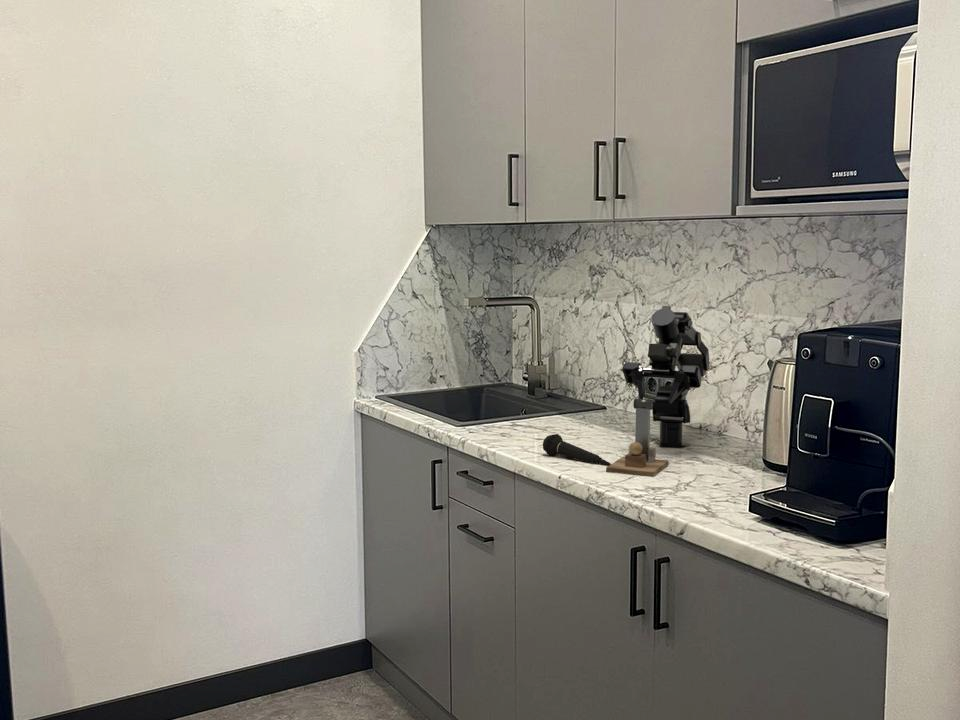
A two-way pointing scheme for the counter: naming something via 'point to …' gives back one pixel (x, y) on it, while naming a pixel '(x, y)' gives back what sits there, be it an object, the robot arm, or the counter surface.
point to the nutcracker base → (637, 471)
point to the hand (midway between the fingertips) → (654, 401)
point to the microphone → (570, 450)
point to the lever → (643, 423)
